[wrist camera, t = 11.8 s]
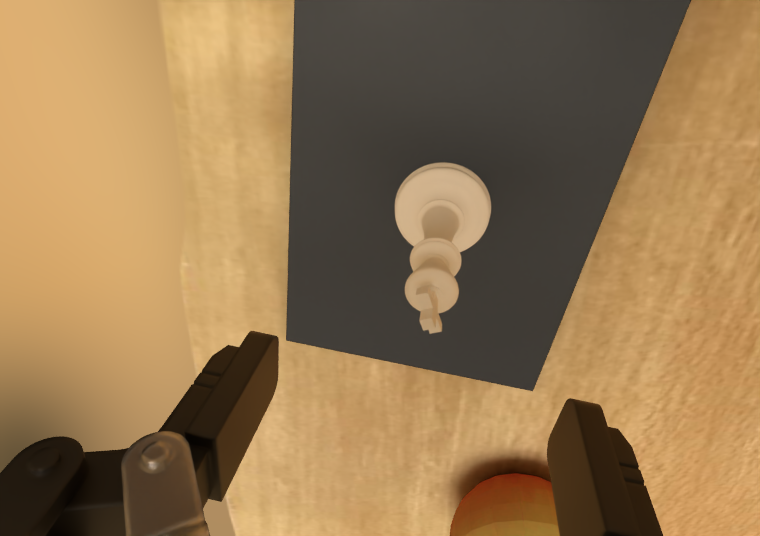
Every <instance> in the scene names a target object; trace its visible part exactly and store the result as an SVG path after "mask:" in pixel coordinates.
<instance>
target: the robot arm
mask: <svg viewBox="0 0 760 536" xmlns="http://www.w3.org/2000/svg"><path fill="white" fill-rule="evenodd" d="M278 346H279V341H278V337H277V336H274V335H269V334H265V333H260V332H255V331H250V332H249V333H248V335H247V336H246V338H245V339H244V341H243V342H242V344H241V345H240V347H235V346H230V345H228V346H226V347H225V348H223V349H222V350H220V351H219V352H217V353H216V354H214V355H213V356H212V357H211V358H210V360H209V361H208V363H207V364H206V366H205V367H204V368H203V370H202V373H200V374H199V375H198V377H197V378H196V380H195V381H194V384H193V385H191V387H190V388H189V390H188V391H187V392H186V394H185V395H184V396H183V398H182V399H181V401H180V402H179V404H178V405H177V406H176V408H175V409H174V410H173V412H172V413H171V415H170V416H169V418H168V419H167V420H166V422H165V423H164V425H163V426H162V427H161V428H160V430H159V431H158V432H155V433H152V434H149V435H146V436H144V437H142V438H140V439H139V440H137V441H136V442H135V443H133V444H132V445H131V446H130V447H129V448H127V449H121V450H110V451H96V452H83V449H82V446H81V445H80V443H79V442H77V441H76V440H74V439H72V438H69V437H52V438H47V439H43V440H41V441H38V442H36V443H34V444H32V445H30V446H29V447H27V448H25V449H24V450H22V451H21V452H20V453H18V455H16V457H14V459H13V460H12V461H11V462H10V463H9V464H8V465H7V466H6V467H5V469H4V470H3V471H2V472H1V473H0V536H210V534H209V529H208V526H207V523H206V521H205V517H204V513H203V508H204V505H205V504H206V502H207V500H208V499H212V500H216V501H220V502H221V501H222V500H223V498H224V496H225V494H226V492H227V489H228V487H229V485H230V483H231V481H232V479H233V477H234V475H235V473H236V471H237V469H238V467H239V465H240V463H241V461H242V459H243V457H244V455H245V453H246V451H247V449H248V447H249V445H250V443H251V441H252V438H253V436H254V434H255V432H256V430H257V428H258V426H259V424H260V422H261V420H262V418H263V416H264V414H265V412H266V410H267V408H268V406H269V404H270V402H271V400H272V398H273V395H274V392H275V389H276V386H277V381H278ZM547 460H548V466H549V472H550V478H551V484H552V491H553V497H554V503H555V509H556V515H557V521H558V528H559V534H560V536H663V534H662V531H661V528H660V525H659V522H658V519H657V517H656V514H655V511H654V508H653V505H652V502H651V500H650V497H649V494H648V491H647V488H646V486H644V480H643V477H642V474H641V471H640V470H639V469H638V467H639V465H638V463H637V460H636V457H635V454H634V451H633V448H632V447H631V445H630V444H629V443H628V441H627V440H626V439H625V437H624V436H623V435H622V433H621V432H620V431H619V430H618V429H616V428H611V427H608V426H607V423H606V420H605V417H604V413H603V410H602V408H601V406H600V405H599V404H595V403H590V402H585V401H580V400H575V399H568V400H567V401H566V403H565V405H564V407H563V409H562V411H561V413H560V415H559V417H558V419H557V422H556V424H555V426H554V428H553V430H552V432H551V434H550V437H549V441H548V447H547Z"/></svg>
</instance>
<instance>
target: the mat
mask: <svg viewBox="0 0 760 536" xmlns="http://www.w3.org/2000/svg"><path fill="white" fill-rule="evenodd" d="M690 2H691V0H295V6H294V46H293V87H292V127H291V168H290V209H289V249H288V290H287V331H286V340H287V341H292V342H297V343H301V344H306V345H311V346H316V347H321V348H326V349H331V350H335V351H340V352H345V353H350V354H355V355H360V356H365V357H369V358H374V359H379V360H384V361H389V362H394V363H399V364H403V365H408V366H413V367H418V368H423V369H428V370H433V371H437V372H442V373H447V374H452V375H457V376H462V377H467V378H471V379H476V380H481V381H486V382H491V383H496V384H501V385H505V386H510V387H515V388H520V389H525V390H530V391H533V389H534V387H535V385H536V382H537V380H538V377H539V375H540V372H541V370H542V367H543V365H544V362H545V360H546V357H547V355H548V352H549V350H550V348H551V345H552V343H553V340H554V338H555V335H556V333H557V330H558V328H559V325H560V323H561V320H562V318H563V315H564V313H565V310H566V308H567V306H568V303H569V301H570V298H571V296H572V293H573V291H574V288H575V286H576V283H577V281H578V278H579V276H580V273H581V271H582V268H583V266H584V264H585V261H586V259H587V256H588V254H589V251H590V249H591V246H592V244H593V241H594V239H595V236H596V234H597V231H598V229H599V227H600V224H601V222H602V219H603V217H604V214H605V212H606V209H607V207H608V204H609V202H610V199H611V197H612V194H613V192H614V189H615V187H616V185H617V182H618V180H619V177H620V175H621V172H622V170H623V167H624V165H625V162H626V160H627V157H628V155H629V152H630V150H631V147H632V145H633V143H634V140H635V138H636V135H637V133H638V130H639V128H640V125H641V123H642V120H643V118H644V115H645V113H646V110H647V108H648V106H649V103H650V101H651V98H652V96H653V93H654V91H655V88H656V86H657V83H658V81H659V78H660V76H661V73H662V71H663V68H664V66H665V64H666V61H667V59H668V56H669V54H670V51H671V49H672V46H673V44H674V41H675V39H676V36H677V34H678V31H679V29H680V26H681V24H682V22H683V19H684V17H685V14H686V12H687V9H688V7H689V4H690ZM441 162H445V163H453V164H457V165H460V166H463V167H465V168H467V169H469V170H471V171H472V172H473V173H475V174H476V175H477V176H478V177H479V178H480V179H481V180H482V182H483V183H484V184H485V186H486V188H487V190H488V192H489V195H490V200H491V215H490V219H489V223H488V226H487V228H486V230H485V232H484V234H483V235H482V237H481V238H480V239H479V240H478V241H477V242H476V243H475V244H474V245H473V246H471V247H470V248H468V249H466V250H464V251H462V252H460V254H461V267H460V269H459V271H458V273H457V274H456V275H455V276H454V278H455V279H456V281H457V284H458V288H459V295H458V299H457V301H456V303H455V304H454V305H453V306H452V307H451V308H450V309H449V310H447V311H445V312H442V313H438V314H439V316H440V319H441V322H442V332H437V333H431V334H430V333H429V330H424V331H423V329H422V326H421V324H420V321H419V320H420V313H421V311H419V310H417V309H415V308H414V307H413V306H412V305H411V304H410V303H409V302H408V300H407V298H406V295H405V284H406V281H407V279H408V277H409V276H410V275H411V274H412V273H413V270H412V267H411V264H410V254H411V251H412V249H413V248H414V246H412V245H411V244H410V243H409V242H408V241H407V240H406V239H405V238H404V237H403V235H402V234H401V232H400V230H399V228H398V226H397V223H396V219H395V199H396V195H397V192H398V190H399V188H400V186H401V184H402V183H403V181H404V180H405V179H406V178H407V177H408V176H409V175H410V174H411V173H412V172H414V171H415V170H417V169H419V168H421V167H423V166H425V165H428V164H433V163H441Z"/></svg>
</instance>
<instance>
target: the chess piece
mask: <svg viewBox="0 0 760 536" xmlns="http://www.w3.org/2000/svg"><path fill="white" fill-rule="evenodd" d="M490 215H491V200H490V195H489V192H488V190H487V188H486V186H485V184H484V183H483V182H482V180H481V179H480V178H479V177H478V176H477V175H476V174H475V173H473V172H472V171H471V170H469V169H467V168H465V167H463V166H460V165H457V164H453V163H445V162H441V163H433V164H428V165H425V166H423V167H421V168H419V169H417V170H415V171H414V172H412V173H411V174H410V175H409V176H408V177H407V178H406V179H405V180H404V181H403V183H402V184H401V186H400V188H399V190H398V192H397V195H396V199H395V219H396V223H397V226H398V228H399V230H400V232H401V234H402V235H403V237H404V238H405V239H406V240H407V241H408V242H409V243H410V244H411V245H412V246H414V248H413V249H412V251H411V254H410V264H411V267H412V270H413V273H412V274H411V275H410V276H409V277H408V279H407V281H406V284H405V295H406V298H407V300H408V302H409V303H410V304H411V305H412V306H413V307H414V308H415V309H417V310H419V311H421V313H420V320H419V321H420V324H421V326H422V329H423V331H424V330H429V333H430V334H431V333H437V332H442V322H441V319H440V316H439V314H438V313H442V312H445V311H447V310H449V309H450V308H451V307H452V306H453V305H454V304H455V303H456V301H457V299H458V295H459V288H458V284H457V281H456V279H455V278H454V276H455V275H456V274H457V273H458V271H459V269H460V267H461V254H460V252H462V251H464V250H466V249H468V248H470V247H471V246H473V245H474V244H475V243H476V242H477V241H478V240H479V239H480V238H481V237H482V235H483V234H484V232H485V230H486V228H487V226H488V223H489V219H490Z"/></svg>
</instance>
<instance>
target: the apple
mask: <svg viewBox="0 0 760 536" xmlns="http://www.w3.org/2000/svg"><path fill="white" fill-rule="evenodd" d="M450 536H560V534H559V528H558V521H557V515H556V509H555V503H554V497H553V491H552V484H551V482H549V481H547V480H544V479H542V478H540V477H537V476H533V475H526V474H518V473H513V474H504V475H497V476H495V477H492V478H490V479H487V480H485V481H482V482H480V483H479V484H478V485H477V486H476V487H475V488H473V489H472V490H471V491H470V492H469V493H468V494H467V495H466V496H465V497H463V499H462V501H461V503H460V504H459V506H458V508H457V510H456V512H455V515H454V518H453V521H452V524H451V529H450Z"/></svg>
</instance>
